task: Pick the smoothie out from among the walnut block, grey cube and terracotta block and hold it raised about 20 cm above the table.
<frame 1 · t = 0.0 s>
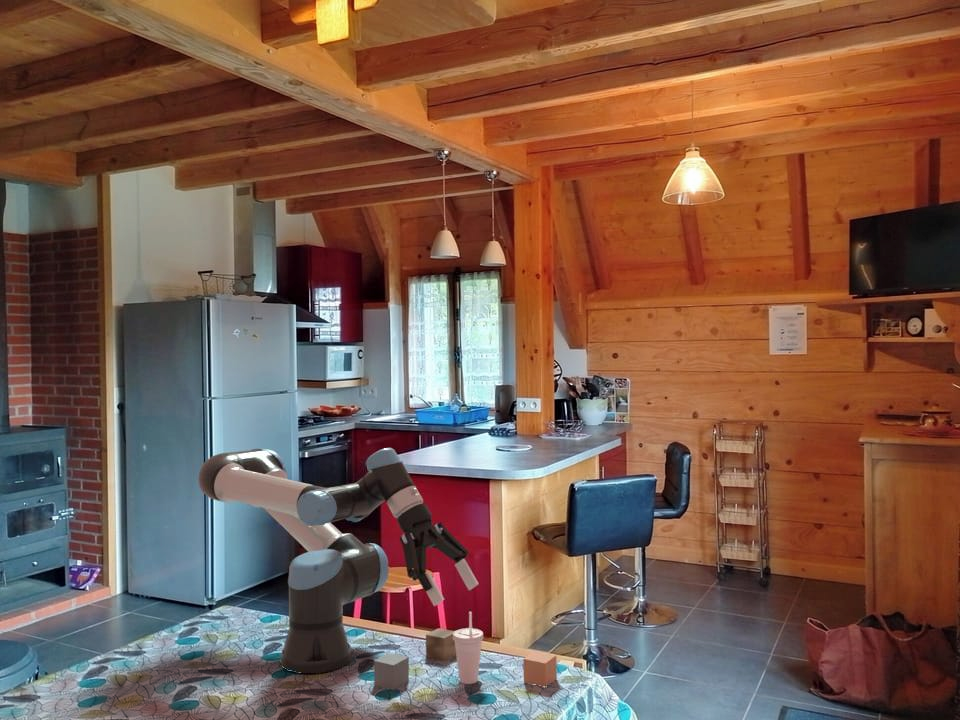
hand: (457, 594, 163), 15 cm above the table, tool tilted 35°, fingers open, 13 cm apart
walnut block: (441, 655, 169), on the table
smoothie: (468, 681, 154), on the table
terracotta block: (540, 681, 153), on the table
grey cube: (391, 683, 154), on the table
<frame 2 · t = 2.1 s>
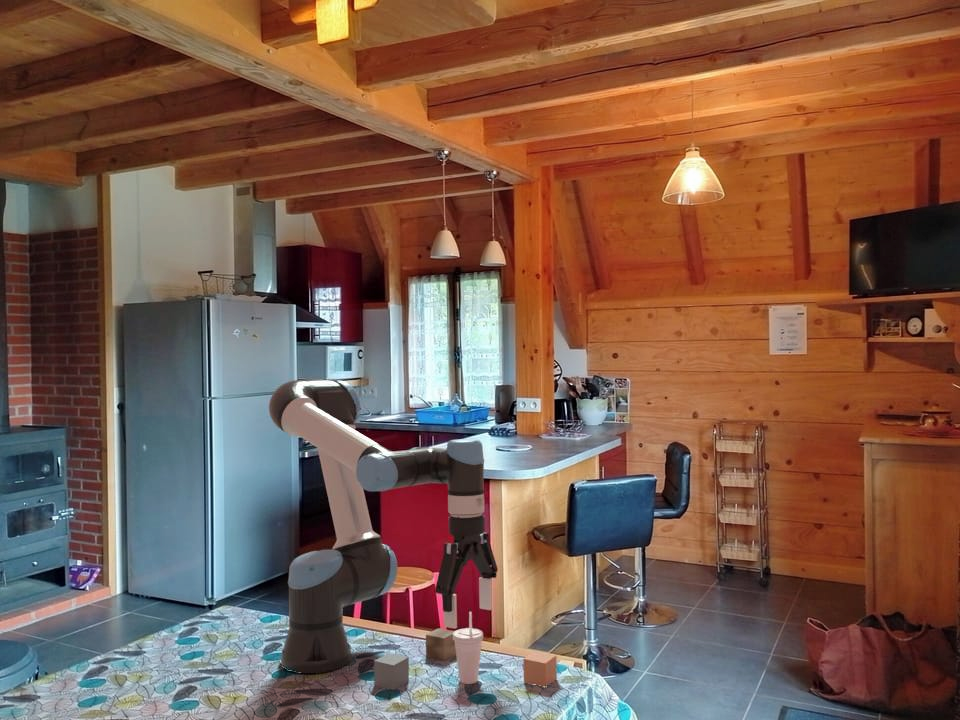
hand: (468, 617, 155), 13 cm above the table, tool pointing down, fingers open, 13 cm apart
nothing on the table moved.
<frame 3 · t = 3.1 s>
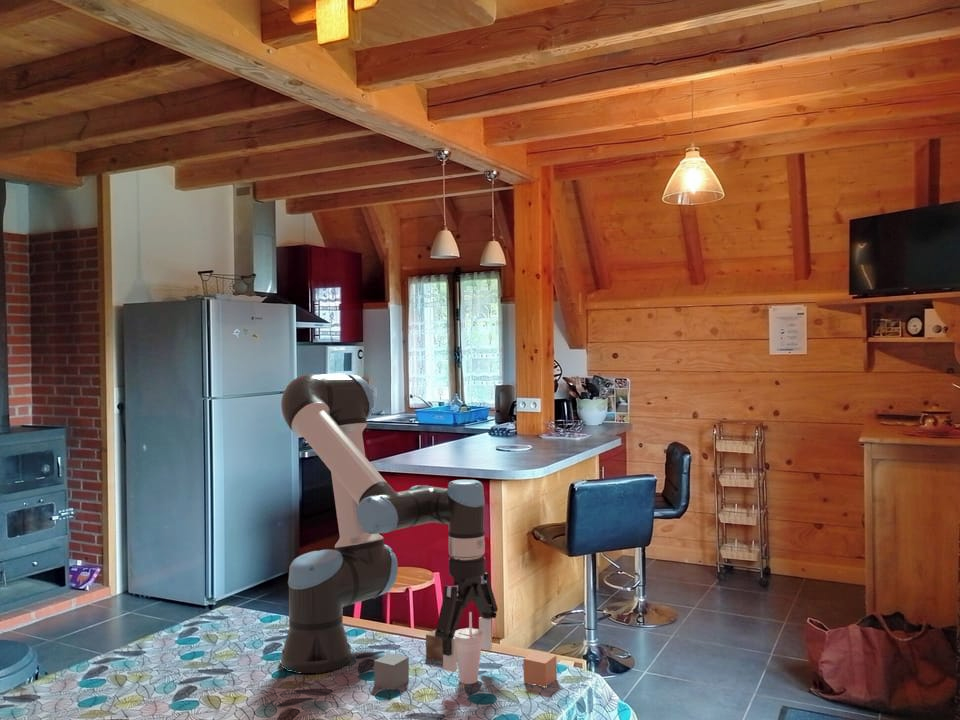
hand: (468, 659, 154), 4 cm above the table, tool pointing down, fingers open, 13 cm apart
nothing on the table moved.
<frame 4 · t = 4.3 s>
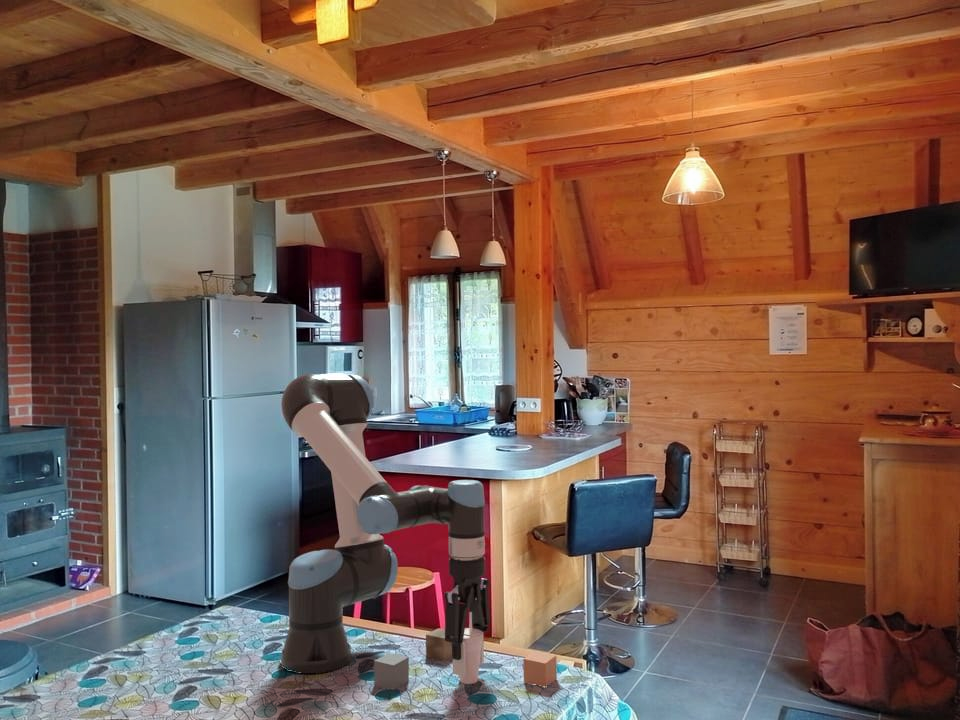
hand: (468, 668, 154), 2 cm above the table, tool pointing down, fingers closed on smoothie, 6 cm apart
smoothie: (468, 681, 154), on the table, touching gripper
everything else where it was.
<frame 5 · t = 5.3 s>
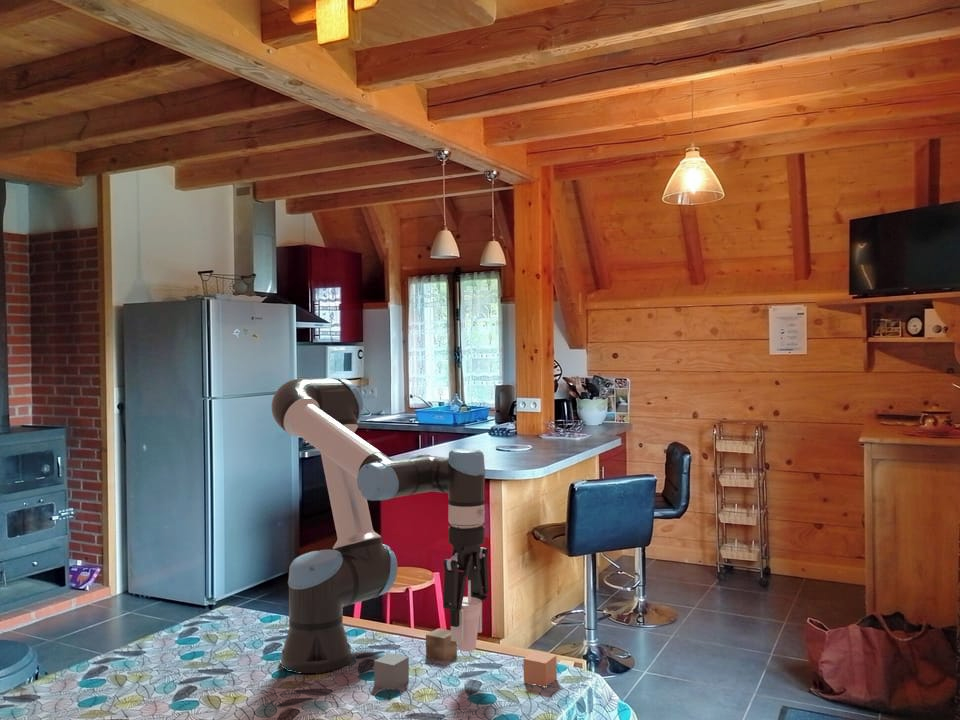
hand: (466, 636, 155), 9 cm above the table, tool pointing down, fingers closed on smoothie, 6 cm apart
smoothie: (466, 649, 155), point 6 cm above the table, touching gripper
everything else where it was.
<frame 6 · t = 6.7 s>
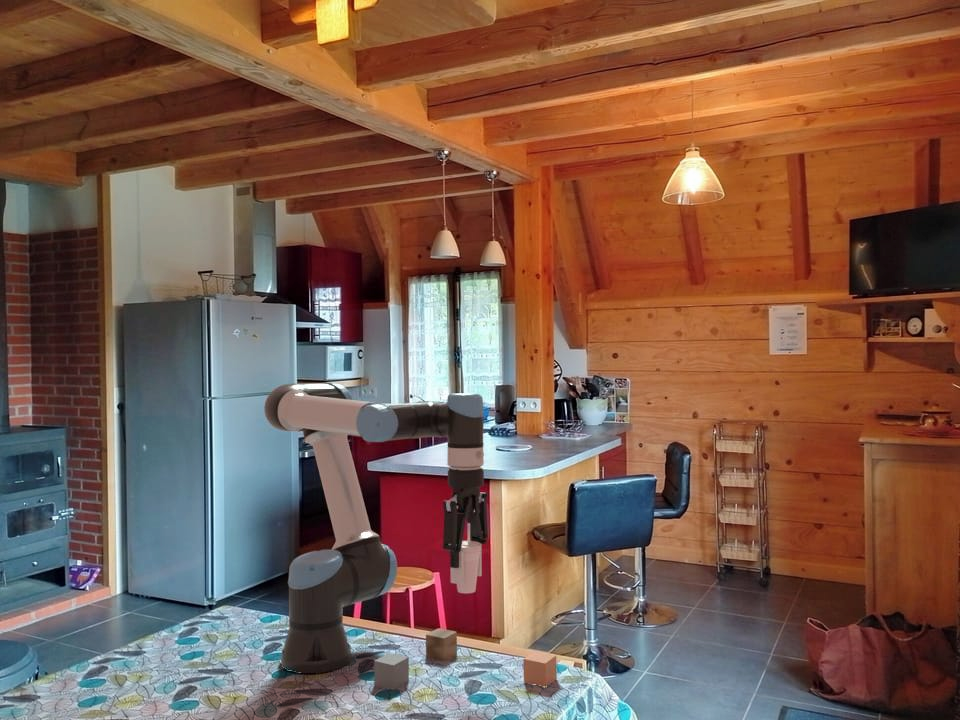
hand: (466, 578, 155), 21 cm above the table, tool pointing down, fingers closed on smoothie, 6 cm apart
smoothie: (466, 591, 155), point 18 cm above the table, touching gripper
everything else where it was.
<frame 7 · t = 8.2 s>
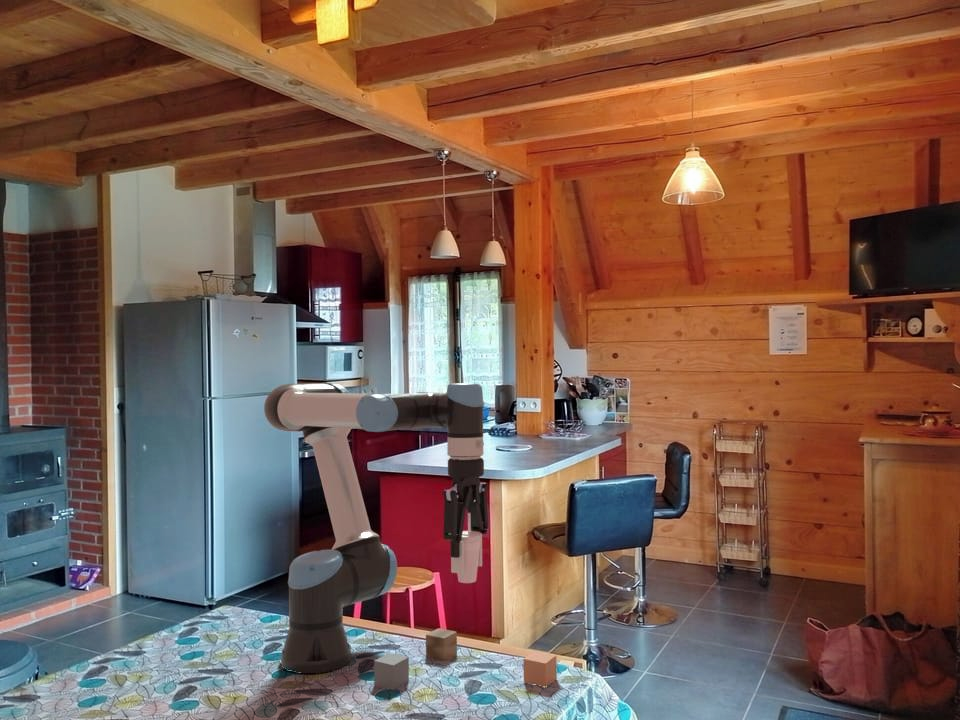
hand: (467, 568, 155), 23 cm above the table, tool pointing down, fingers closed on smoothie, 6 cm apart
smoothie: (467, 581, 155), point 20 cm above the table, touching gripper
everything else where it was.
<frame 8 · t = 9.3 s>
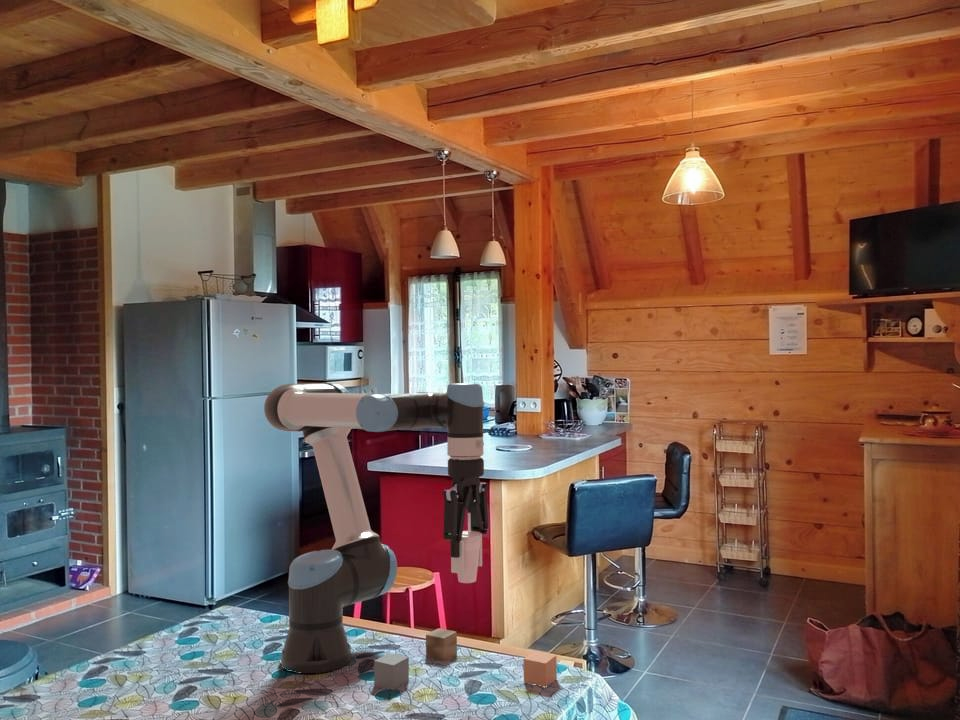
hand: (467, 568, 155), 23 cm above the table, tool pointing down, fingers closed on smoothie, 6 cm apart
smoothie: (467, 581, 155), point 20 cm above the table, touching gripper
everything else where it was.
at the end: the gripper is holding smoothie; smoothie point 20.2 cm above the table; walnut block moved 0.1 cm from its start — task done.
